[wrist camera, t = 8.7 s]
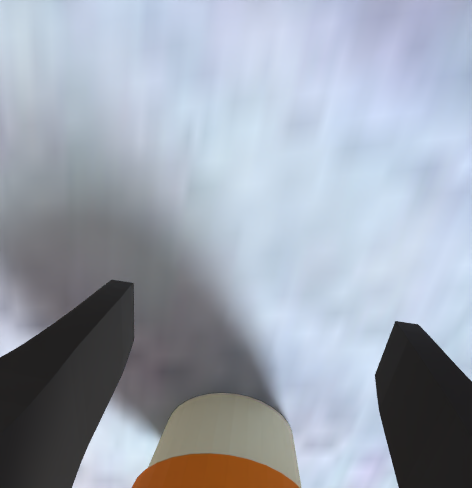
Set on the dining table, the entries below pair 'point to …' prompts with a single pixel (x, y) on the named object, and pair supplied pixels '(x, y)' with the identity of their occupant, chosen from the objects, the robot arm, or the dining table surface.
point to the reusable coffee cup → (223, 446)
